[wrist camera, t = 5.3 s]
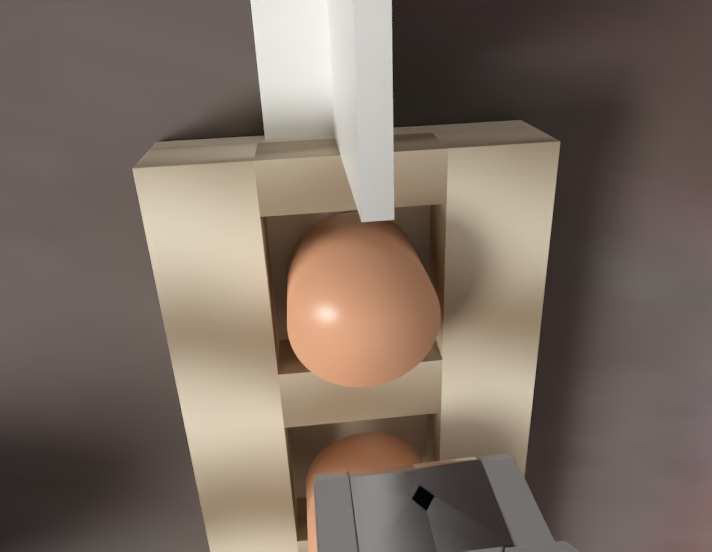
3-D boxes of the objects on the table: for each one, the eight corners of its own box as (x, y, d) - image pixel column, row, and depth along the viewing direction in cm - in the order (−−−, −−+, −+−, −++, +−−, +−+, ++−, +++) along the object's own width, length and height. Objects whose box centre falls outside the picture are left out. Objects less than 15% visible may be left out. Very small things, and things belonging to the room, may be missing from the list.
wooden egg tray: (156, 141, 18) (132, 168, 15) (520, 119, 18) (560, 141, 16) (245, 628, 27) (240, 698, 24) (483, 599, 28) (504, 664, 25)
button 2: (281, 217, 17) (279, 258, 14) (418, 207, 17) (442, 246, 15) (292, 336, 19) (293, 393, 16) (418, 326, 19) (439, 380, 16)
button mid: (301, 439, 19) (303, 512, 16) (425, 426, 19) (447, 497, 17) (310, 529, 21) (313, 609, 18) (424, 517, 21) (443, 594, 18)
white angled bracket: (236, -148, 15) (186, -284, 8) (356, -151, 15) (418, -285, 8) (266, 135, 18) (249, 229, 11) (365, 129, 18) (416, 218, 11)
